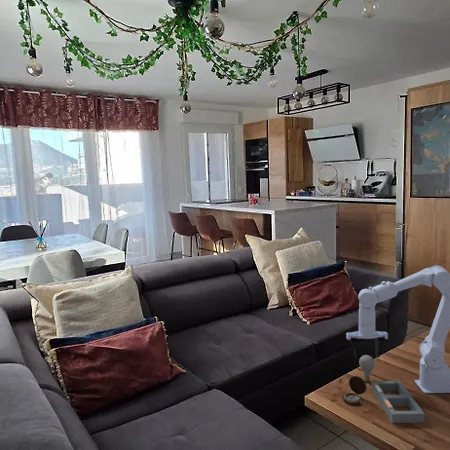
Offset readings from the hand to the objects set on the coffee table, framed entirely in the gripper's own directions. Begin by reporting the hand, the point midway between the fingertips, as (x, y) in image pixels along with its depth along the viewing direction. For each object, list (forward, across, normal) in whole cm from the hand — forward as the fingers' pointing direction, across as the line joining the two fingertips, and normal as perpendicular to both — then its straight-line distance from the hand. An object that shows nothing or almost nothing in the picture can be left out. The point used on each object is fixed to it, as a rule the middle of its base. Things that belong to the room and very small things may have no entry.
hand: (366, 356), depth 143 cm
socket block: (+10, -5, +15) cm, 19 cm away
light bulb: (+10, 0, 0) cm, 10 cm away
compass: (+10, +8, +12) cm, 17 cm away
